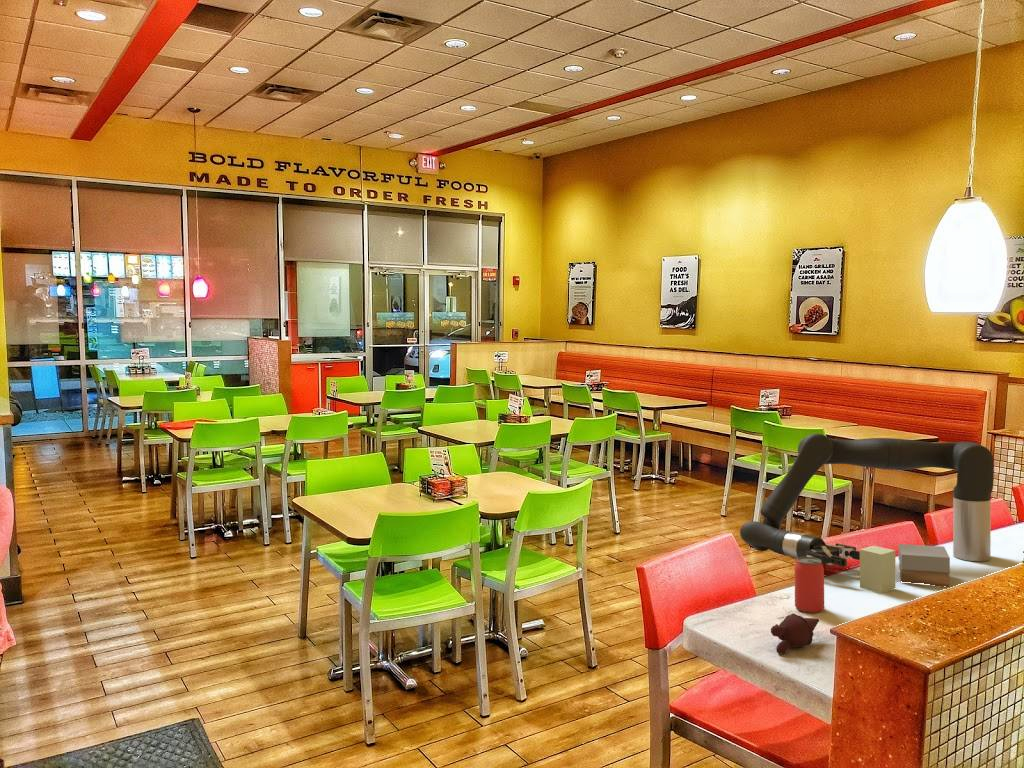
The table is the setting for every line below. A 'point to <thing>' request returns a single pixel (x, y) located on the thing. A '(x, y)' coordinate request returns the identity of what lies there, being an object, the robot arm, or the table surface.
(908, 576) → the tower base block
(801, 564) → the beer can
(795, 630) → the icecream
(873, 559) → the sage block
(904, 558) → the tower top block
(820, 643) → the table surface
